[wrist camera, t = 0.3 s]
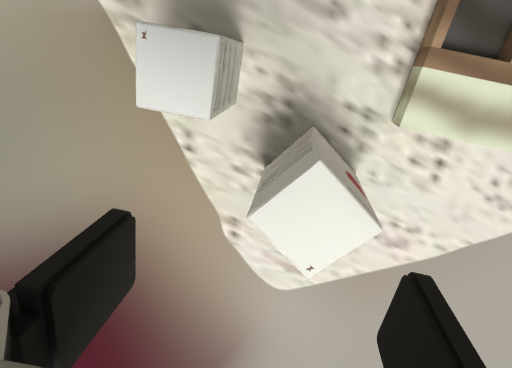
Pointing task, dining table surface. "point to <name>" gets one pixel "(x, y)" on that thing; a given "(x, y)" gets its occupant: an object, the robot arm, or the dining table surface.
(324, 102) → the dining table surface
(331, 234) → the supplement box
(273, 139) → the dining table surface
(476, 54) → the board
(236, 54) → the supplement box
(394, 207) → the dining table surface
